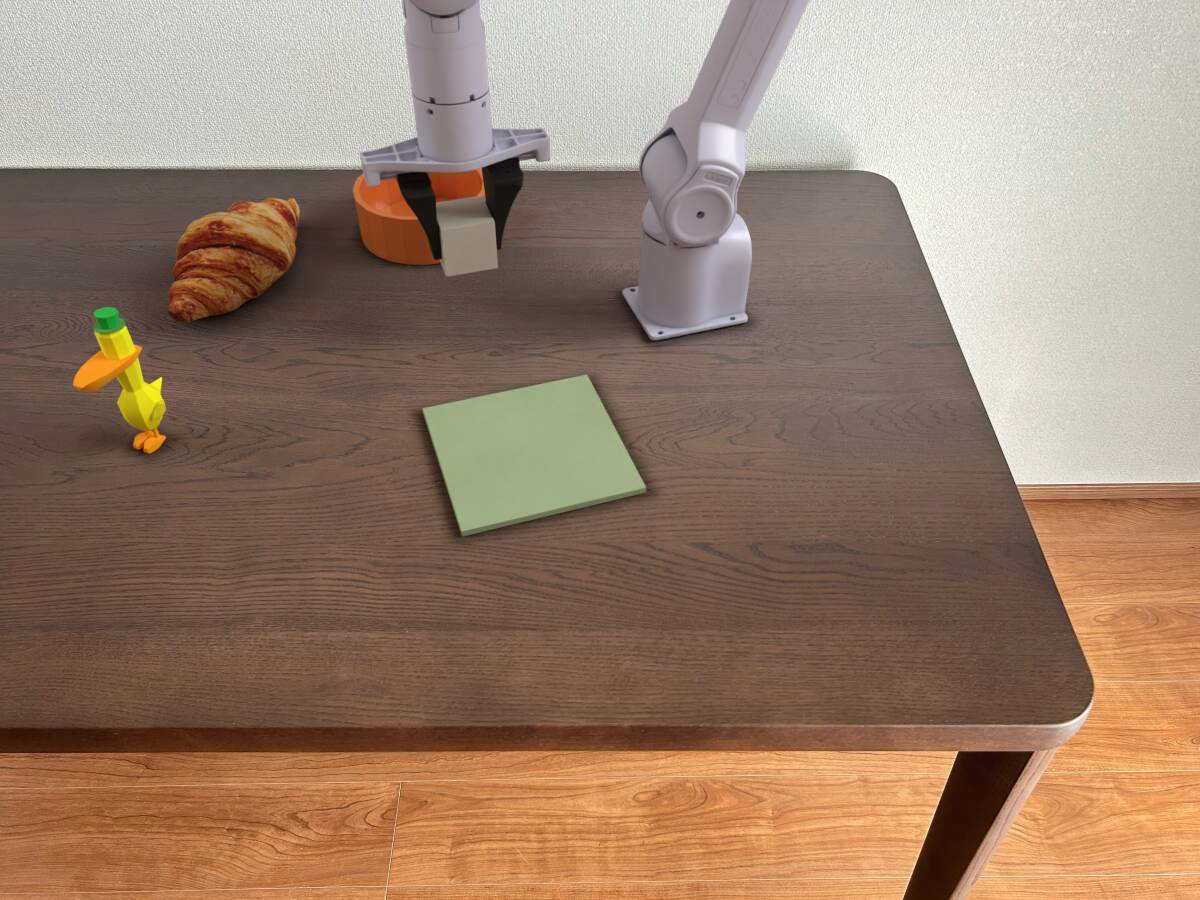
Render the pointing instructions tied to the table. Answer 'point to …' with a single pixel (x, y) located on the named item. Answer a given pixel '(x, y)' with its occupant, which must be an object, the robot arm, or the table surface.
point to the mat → (529, 454)
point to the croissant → (232, 257)
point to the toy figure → (124, 378)
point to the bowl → (406, 215)
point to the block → (466, 236)
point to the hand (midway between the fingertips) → (465, 248)
